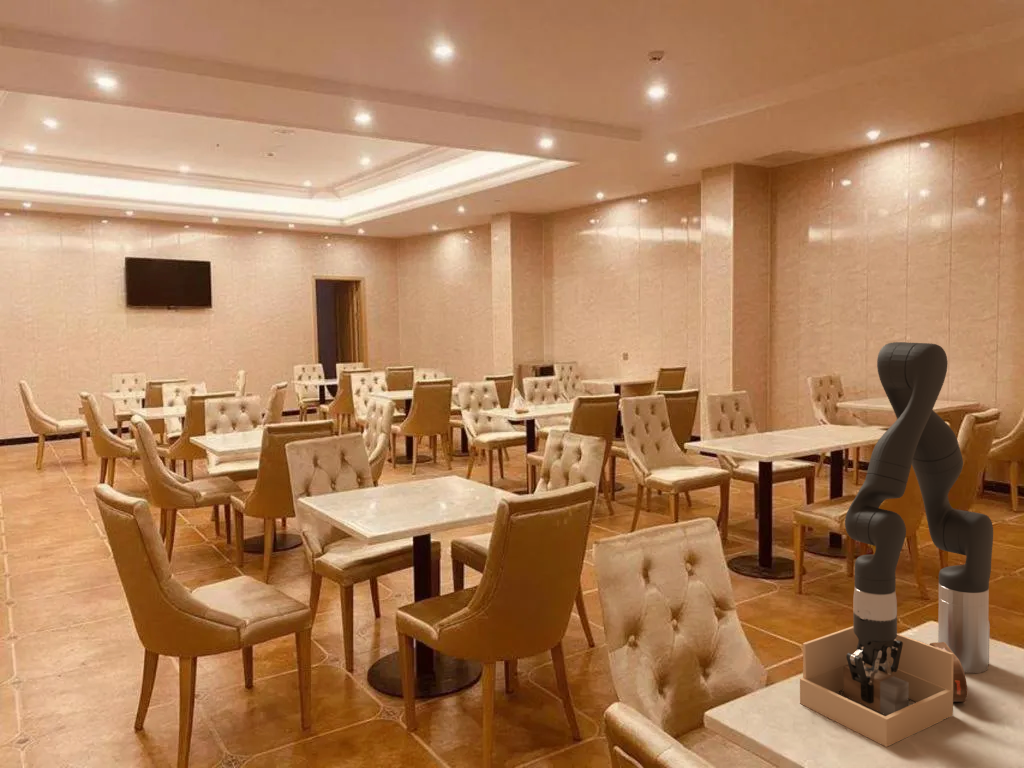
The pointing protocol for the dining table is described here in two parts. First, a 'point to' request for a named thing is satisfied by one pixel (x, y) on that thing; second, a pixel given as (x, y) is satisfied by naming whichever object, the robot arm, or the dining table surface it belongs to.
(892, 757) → the dining table surface
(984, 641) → the robot arm
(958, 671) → the tin
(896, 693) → the box
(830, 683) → the carton
